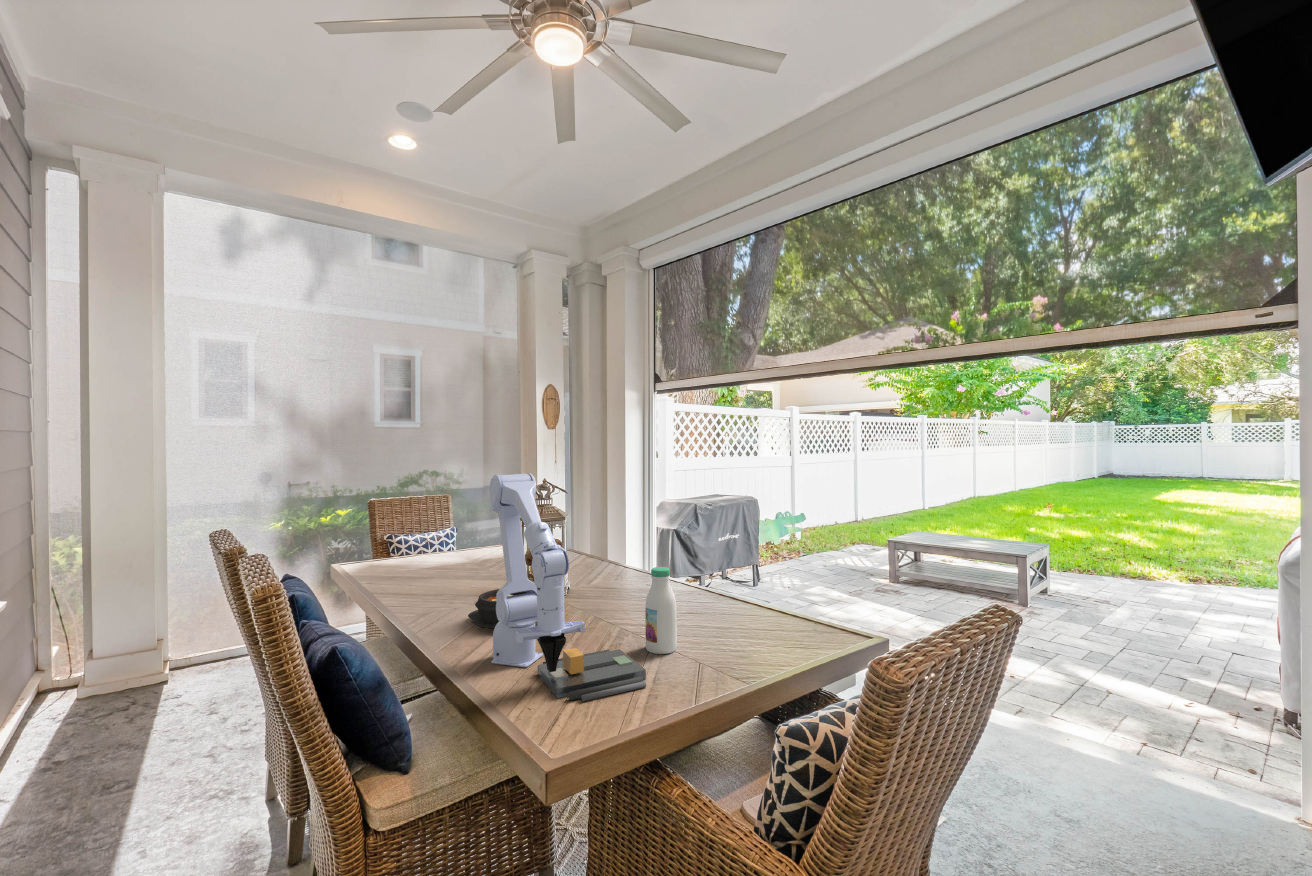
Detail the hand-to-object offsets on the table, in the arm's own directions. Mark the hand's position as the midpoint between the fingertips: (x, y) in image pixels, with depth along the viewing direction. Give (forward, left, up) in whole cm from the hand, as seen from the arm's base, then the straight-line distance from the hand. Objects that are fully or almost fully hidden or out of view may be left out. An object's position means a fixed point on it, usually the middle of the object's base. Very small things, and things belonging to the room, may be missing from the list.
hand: (551, 670), depth 127 cm
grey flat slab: (+6, +6, -3) cm, 9 cm away
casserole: (-32, +33, -3) cm, 46 cm away
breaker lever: (+3, +3, -1) cm, 5 cm away
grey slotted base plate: (+6, +6, -3) cm, 9 cm away
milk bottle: (+16, +26, -3) cm, 31 cm away
